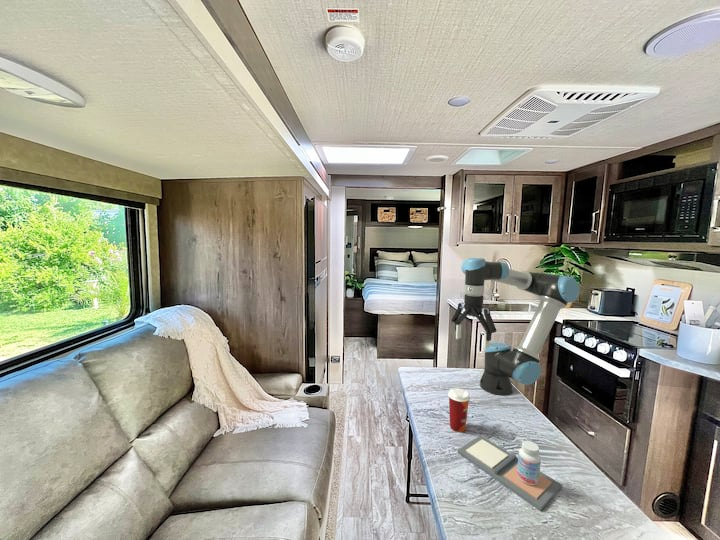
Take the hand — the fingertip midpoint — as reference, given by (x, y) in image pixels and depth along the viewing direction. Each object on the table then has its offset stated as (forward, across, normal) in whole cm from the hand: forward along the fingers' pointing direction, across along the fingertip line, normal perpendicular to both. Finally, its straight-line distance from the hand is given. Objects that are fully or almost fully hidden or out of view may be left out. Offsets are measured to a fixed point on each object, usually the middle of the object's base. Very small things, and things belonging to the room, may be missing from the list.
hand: (471, 343), depth 128 cm
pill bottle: (+30, +34, -18) cm, 49 cm away
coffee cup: (+32, +4, -13) cm, 35 cm away
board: (+32, +27, -18) cm, 45 cm away
